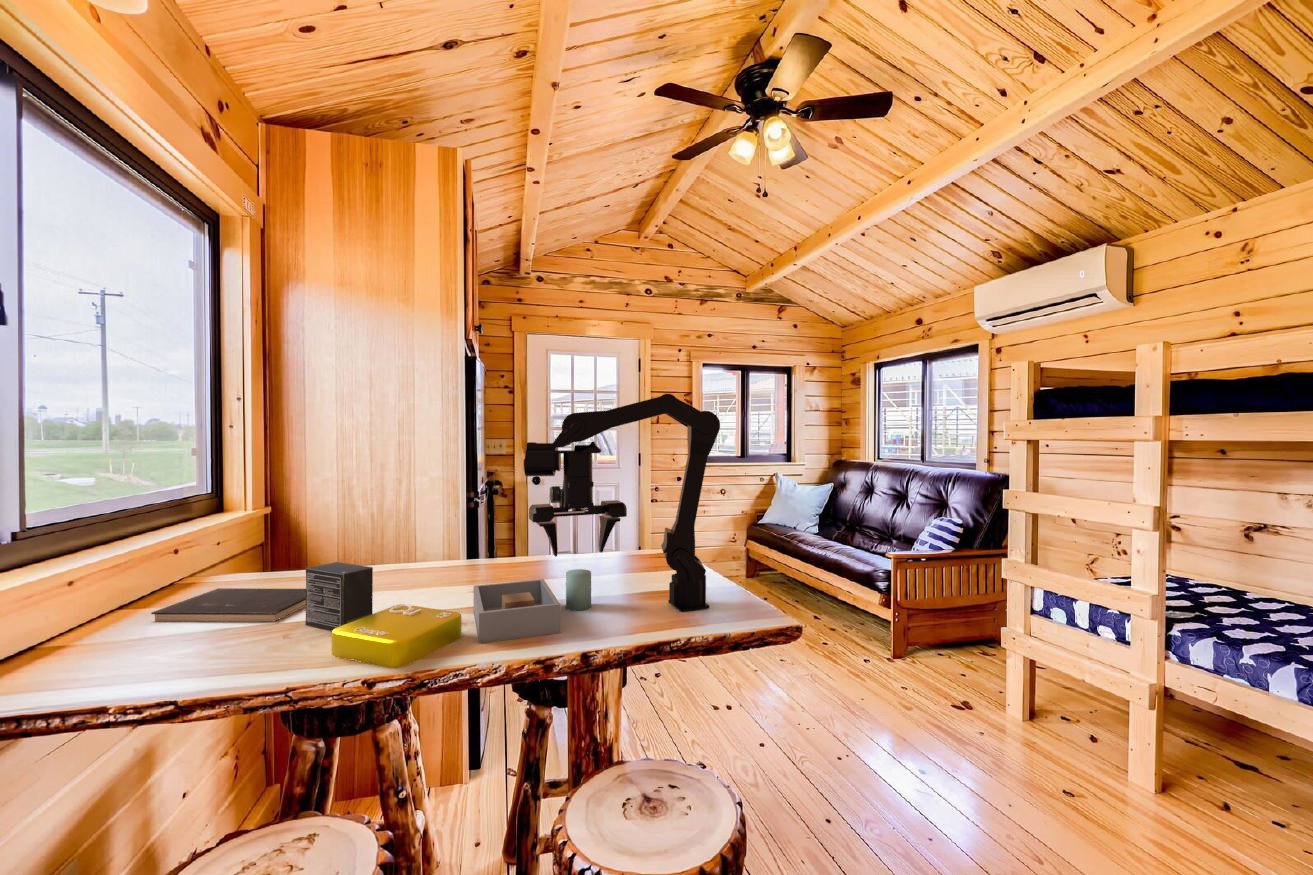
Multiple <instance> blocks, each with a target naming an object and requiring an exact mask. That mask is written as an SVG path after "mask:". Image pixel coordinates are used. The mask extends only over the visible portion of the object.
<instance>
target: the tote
mask: <svg viewBox="0 0 1313 875" xmlns="http://www.w3.org/2000/svg"><path fill="white" fill-rule="evenodd" d="M526 592H530V593H531V595H532V597H533V599H534V606H528V607H519V608H510V609H502V595H506V594H516V593H526ZM473 614H474V621H475V626H476V632H477V639H478V643H479V644H484V643H485V644H486V643H492V642H493V643H494V642H499V641H508V640H514V639H522V638H531V637H538V636H546V635H553V634H561V603H560V601H559V600H558V598H557V597H556V595H555V594H554V592H553V590H551V588H550V586H549V585H548V584H547V582H546V581H545V579H543V578H542V579H539V578H538V579H530V580H520V581H519V580H518V581H507V582H498V583H486V584H476V585H475V584H474V585H473Z"/></svg>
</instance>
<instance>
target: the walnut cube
mask: <svg viewBox="0 0 1313 875" xmlns="http://www.w3.org/2000/svg"><path fill="white" fill-rule="evenodd" d="M528 606H534V599H533V597H532V595H531V593H530V592H526V593H516V594H506V595H502V609H510V608H519V607H528Z"/></svg>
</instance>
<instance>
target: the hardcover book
mask: <svg viewBox="0 0 1313 875" xmlns="http://www.w3.org/2000/svg"><path fill="white" fill-rule="evenodd" d="M305 606H306V588H251V587H250V588H244V587H243V588H242V587H240V588H239V587H238V588H234V587H233V588H232V587H231V588H230V587H229V588H227V587H226V588H225V587H224V588H222V587H220V588H219V587H218V588H216V589H212V590H210V591H207V592H204V593H202V594H201V593H200V595H196V596H193V597H191V598H187V599H185V600H182V601H179V602H177V603H174V604H172V605H169V606H168V605H167V606H165V607H163V608H160V609H158V610H154V611H152V612H151V613H150V614H151V615H154V621H156V622H256V621H275V622H276V620H277V621H279V620H280V619H279V618H281V619H283V618H285V617H287V616H289V615H291V614H294V613H295V612H297V611H299V610H302V609H303V607H304V608H306V607H305ZM298 609H299V610H298ZM288 614H289V615H288ZM286 615H287V616H286ZM278 619H279V620H278Z"/></svg>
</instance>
